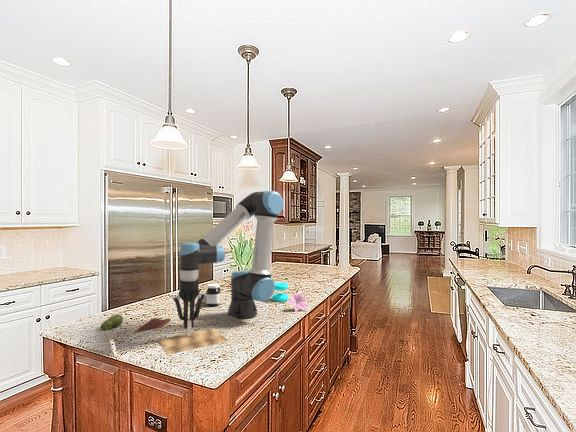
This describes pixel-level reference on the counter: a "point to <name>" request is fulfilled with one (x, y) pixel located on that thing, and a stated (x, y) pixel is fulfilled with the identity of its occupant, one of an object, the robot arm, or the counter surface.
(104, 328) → the pear
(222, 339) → the laid boards
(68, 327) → the counter surface
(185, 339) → the plank
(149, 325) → the wooden tablet
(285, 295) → the donuts
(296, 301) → the lily
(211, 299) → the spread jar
